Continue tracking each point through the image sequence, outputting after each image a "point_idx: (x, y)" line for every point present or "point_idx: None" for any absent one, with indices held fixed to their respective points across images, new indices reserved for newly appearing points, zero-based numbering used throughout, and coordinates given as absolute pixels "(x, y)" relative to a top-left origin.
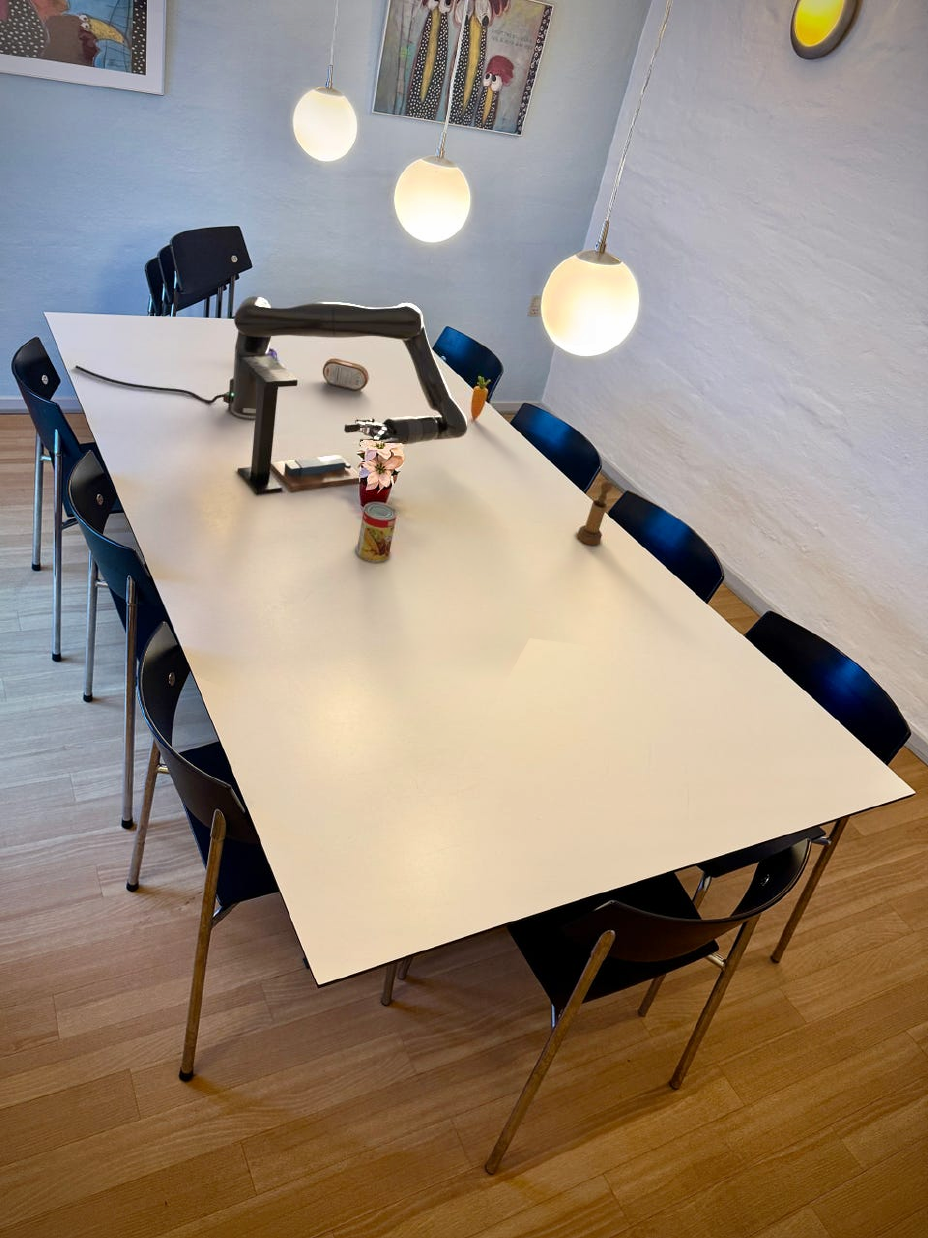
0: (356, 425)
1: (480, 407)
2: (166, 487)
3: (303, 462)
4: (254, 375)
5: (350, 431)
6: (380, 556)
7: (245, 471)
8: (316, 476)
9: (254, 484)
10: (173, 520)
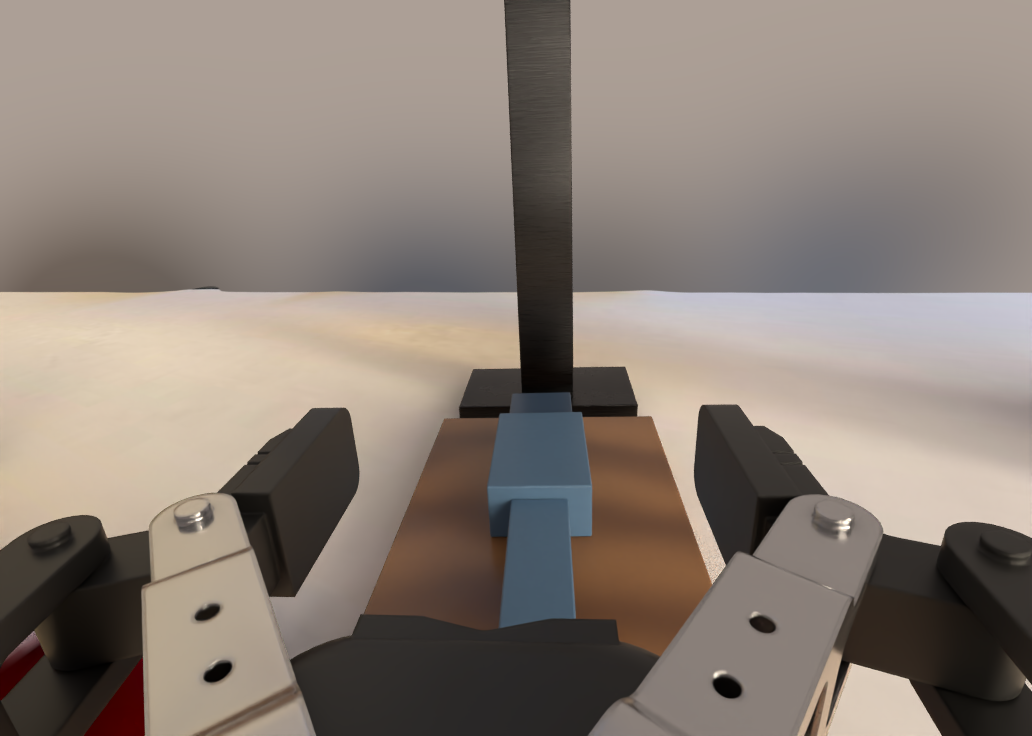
0: (748, 495)
1: None
2: (574, 312)
3: (548, 426)
4: None
5: (711, 517)
6: None
7: (599, 372)
8: (477, 497)
9: (511, 371)
10: (450, 307)
